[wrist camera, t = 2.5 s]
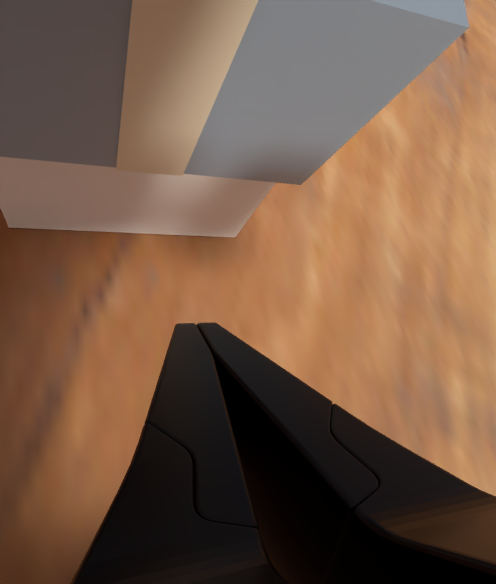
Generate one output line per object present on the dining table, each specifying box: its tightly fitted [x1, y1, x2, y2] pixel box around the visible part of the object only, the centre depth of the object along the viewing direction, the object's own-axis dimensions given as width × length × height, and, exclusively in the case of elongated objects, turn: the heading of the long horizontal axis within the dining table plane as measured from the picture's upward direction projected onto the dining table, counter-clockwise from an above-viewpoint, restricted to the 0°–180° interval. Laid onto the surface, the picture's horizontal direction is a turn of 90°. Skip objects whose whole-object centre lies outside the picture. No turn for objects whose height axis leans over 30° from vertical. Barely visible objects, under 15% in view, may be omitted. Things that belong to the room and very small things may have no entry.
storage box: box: [0, 157, 276, 237], centre depth 21 cm, size 8×12×8 cm, turn 97°
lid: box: [0, 0, 469, 185], centre depth 12 cm, size 9×12×1 cm
